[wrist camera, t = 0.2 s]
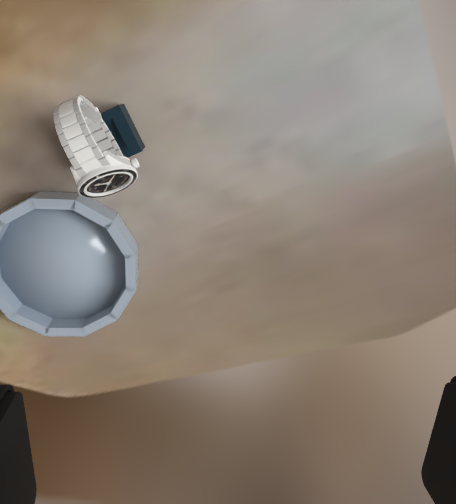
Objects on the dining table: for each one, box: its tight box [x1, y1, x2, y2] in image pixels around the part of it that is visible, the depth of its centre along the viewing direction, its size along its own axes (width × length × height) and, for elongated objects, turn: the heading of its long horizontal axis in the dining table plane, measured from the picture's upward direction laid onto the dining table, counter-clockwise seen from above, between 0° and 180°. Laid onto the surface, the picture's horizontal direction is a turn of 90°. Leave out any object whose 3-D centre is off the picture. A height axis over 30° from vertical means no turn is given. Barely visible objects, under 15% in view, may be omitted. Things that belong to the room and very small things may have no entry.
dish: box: [0, 191, 139, 336], centre depth 44 cm, size 15×15×3 cm
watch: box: [53, 95, 145, 198], centre depth 36 cm, size 6×8×11 cm
